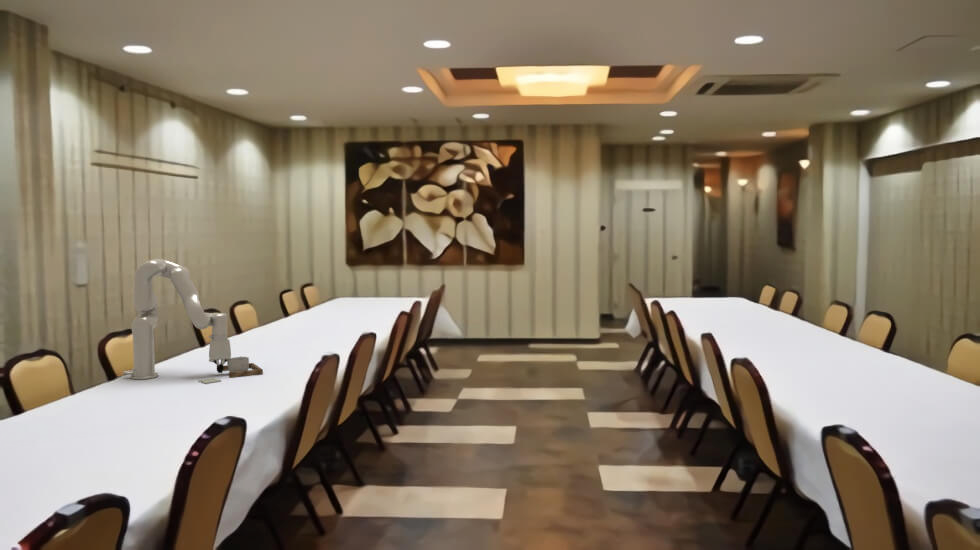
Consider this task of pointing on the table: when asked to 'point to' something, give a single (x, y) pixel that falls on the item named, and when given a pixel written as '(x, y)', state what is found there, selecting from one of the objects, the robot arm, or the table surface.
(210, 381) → the coaster
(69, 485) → the table surface
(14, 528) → the table surface
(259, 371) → the bay
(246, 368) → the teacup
